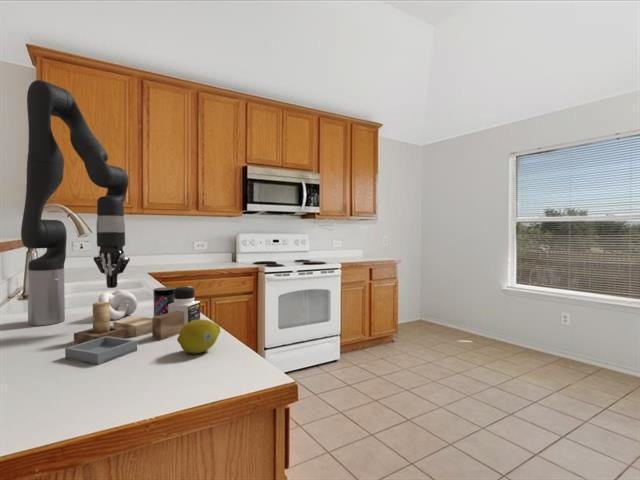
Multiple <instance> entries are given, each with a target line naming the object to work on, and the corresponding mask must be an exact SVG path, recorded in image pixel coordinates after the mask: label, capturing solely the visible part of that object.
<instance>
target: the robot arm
mask: <svg viewBox="0 0 640 480" xmlns="http://www.w3.org/2000/svg"><path fill="white" fill-rule="evenodd" d="M26 106H27V120H28V121H27V123H28V145H27V146H28V148H27V150H28V151H27V160H26V186H25V187H26V188H25V199H24V200H25V201H24V206H23V207H24V208H23V215H22V220H21V229H20V230H21V231H20V237H21V238H20V239H21V243H22V246H24V247H25V248H26V249H32V250H33V249H36V250H37V249H46V251H45V253H44V254H42V255H41V256H39V257H37V258H34V259H31V260H30V261H29V262H28V267H27V268H28V269H27V270H28V293H27V323H28V325H30V326H49V325H56V324H60V323H63V322H65V319H66V318H65V317H66V315H65V314H66V313H65V311H66V307H65V306H66V305H65V304H66V303H65V301H66V299H65V262H66V258H67V240H68V239H67V227H66V225H65V223H64V222H62V221H61V220H59V219H42V216H43V211H44V208H45V205H46V203H47V202H48V200H49V199H50V198H51V197H52V195H53V194H54V193H55V192H56V191H57V190H58V188H59V187H60V186H61V184H62V183H63V178H64V171H65V170H64V168H65V159H64V156H63V153H62V151H61V148H60V147H59V144H58V143H57V141H56V138H55V136H54V134H53V131H52V123H51V122H52V121H51V120H52V118H51V117H55V118H56V117H57V118H59V119H60V120H61V121H62V122H63V123H64V124H65V125H66V126H67V127H68V129H69V140H70V143H71V146H72V148H73V149H74V151H75V152H76V154H77V155H78V156H79V158H80V159H81V160H82V162H83V164H84V167H85V170H86V172H87V175H88V178H89V180H90V181H91V182H92V183H93V184H94V185H95V186H97V187H99V188H104V189H106V190H107V191H106V195H104V196H100V197H99V198H97V201H96V207H97V208H96V210H97V212H96V213H97V217H96V246H97V247H98V248H99V252H98V255H97V256H94V257H93V261H94V262H95V265H96V266H97V268H98V270H99V272H100V273H101V274H104V275H105V277H106V278H105V280H106V287H107V288H108V289H114V288H117V286H118V275H119V274H123V272H124V271H125V269H126V268H127V266H128V264H129V262H130V261H131V258H130V256H125V254H124V253H125V251H124V246H126V224H125V216H124V215H125V210H124V203H125V199H126V197H127V191H128V187H129V183H130V182H129V176H128V174H127V172H126V171H125V170H124V169H123V168H121V167H119V166H114V165H110V164H108V163H107V162H108V159H109V155H108V153H107V151H106V150H105V148H104V147H103V145H102V144H101V143H100V142H99V140H98V139H97V138H96V136H95V135H94V133H93V132H92V130H91V129H90V127H89V125H88V123H87V121H86V118H85V117H84V115H83V113H82V111H81V109H80V107H79V105H78V103H77V101H76V99H75V98H74V96H73V94H71V92H70V91H68V90H67V89H65V88H63V87H61V86H58V85H55V84H53V83H50V82H47V81H45V80H41V79H37V80H36V79H35V80H34V81H32V82H31V83H30V85H29V87H28V89H27V94H26Z"/></svg>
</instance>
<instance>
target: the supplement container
mask: <svg viewBox="0 0 640 480" xmlns="http://www.w3.org/2000/svg"><path fill="white" fill-rule="evenodd" d="M175 289H176V288H175V287H170V286H169V287H168V286H166V287H165V286H164V287H156V288H153V289H152V290H153V293H152V294H153V317H156V316H160V315H163V314H167V313H168V304H171V303H174V302H175V301H174V290H175Z"/></svg>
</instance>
